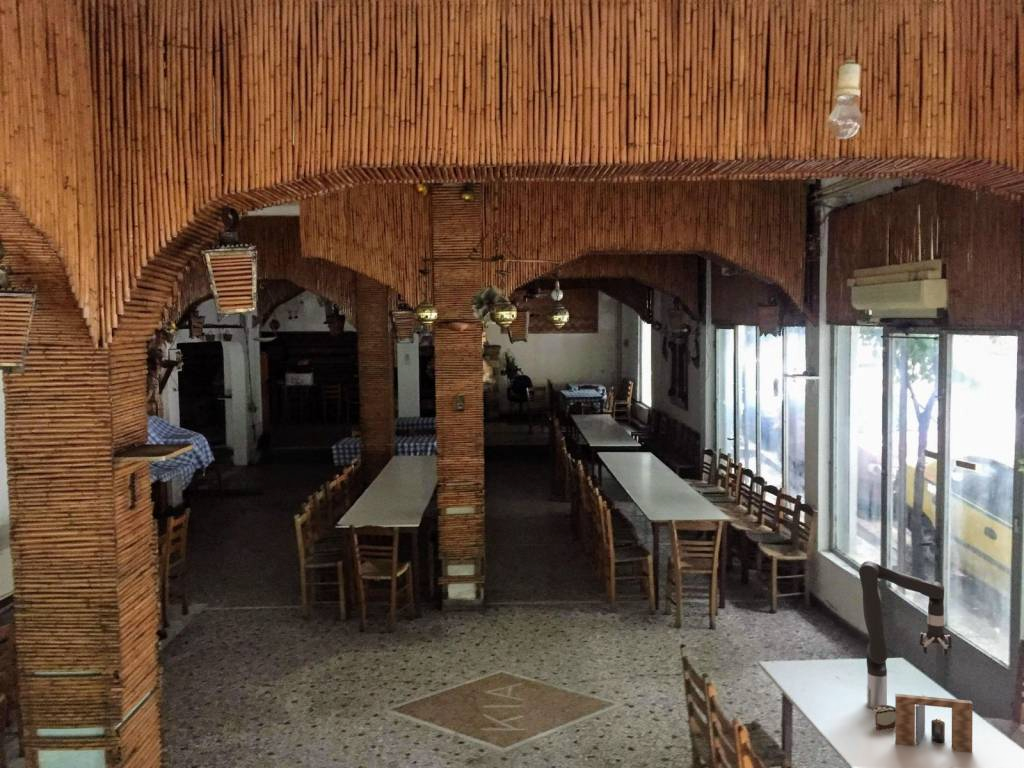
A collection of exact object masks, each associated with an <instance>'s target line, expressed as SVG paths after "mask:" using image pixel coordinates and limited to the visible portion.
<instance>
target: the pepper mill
mask: <svg viewBox="0 0 1024 768" xmlns="http://www.w3.org/2000/svg"><path fill="white" fill-rule="evenodd" d="M945 725H946V722H944V721H943V720H941V719H940V718H938V717H937V718H935V719H932V720H931V728H930V729H931V731H930V732H931V736H930V737H931V739H930V740H931V742H933V743H934V744H938V745H941V744H942V745H943V744H945V742H946V741H945V739H946V732H945V729H946V727H945Z"/></svg>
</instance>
